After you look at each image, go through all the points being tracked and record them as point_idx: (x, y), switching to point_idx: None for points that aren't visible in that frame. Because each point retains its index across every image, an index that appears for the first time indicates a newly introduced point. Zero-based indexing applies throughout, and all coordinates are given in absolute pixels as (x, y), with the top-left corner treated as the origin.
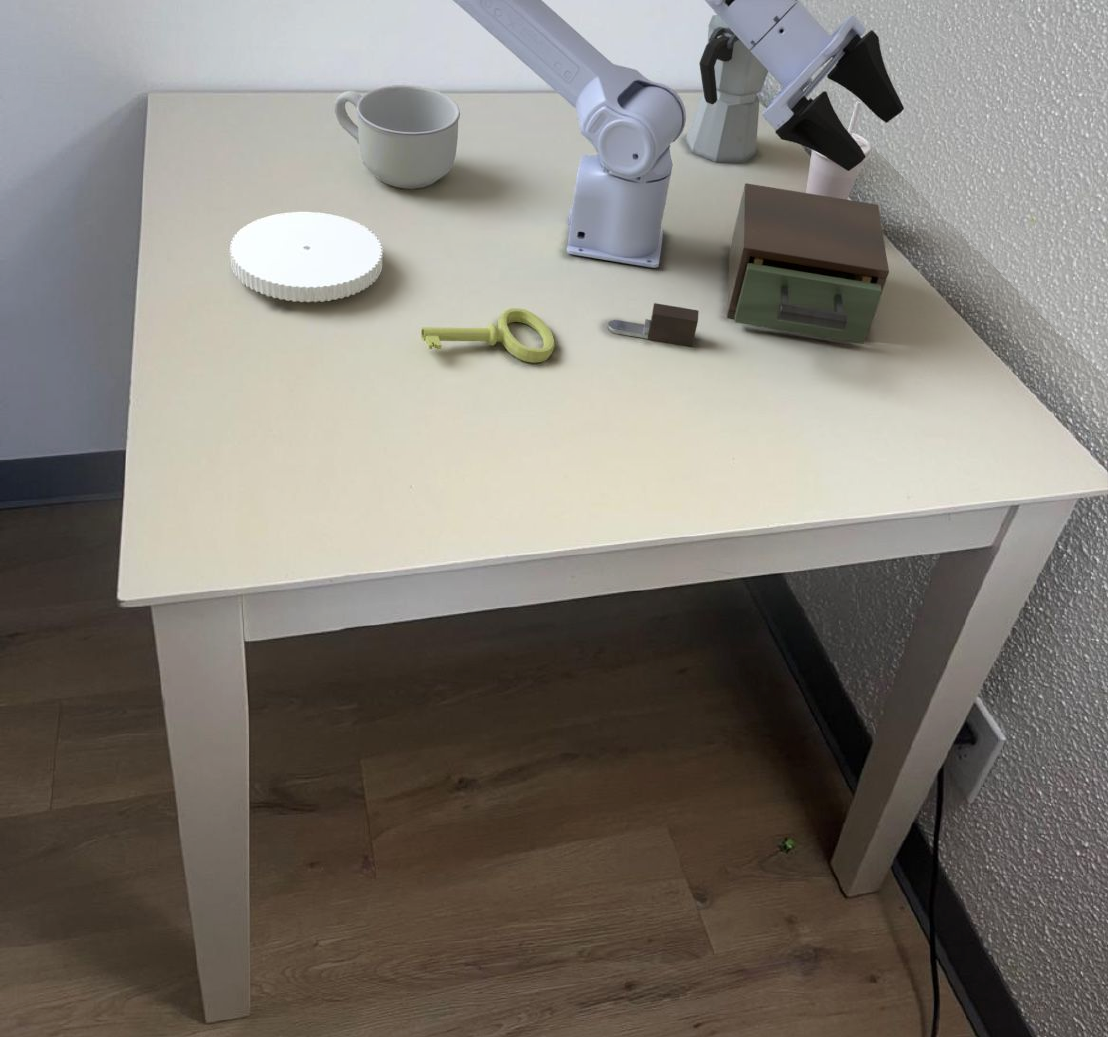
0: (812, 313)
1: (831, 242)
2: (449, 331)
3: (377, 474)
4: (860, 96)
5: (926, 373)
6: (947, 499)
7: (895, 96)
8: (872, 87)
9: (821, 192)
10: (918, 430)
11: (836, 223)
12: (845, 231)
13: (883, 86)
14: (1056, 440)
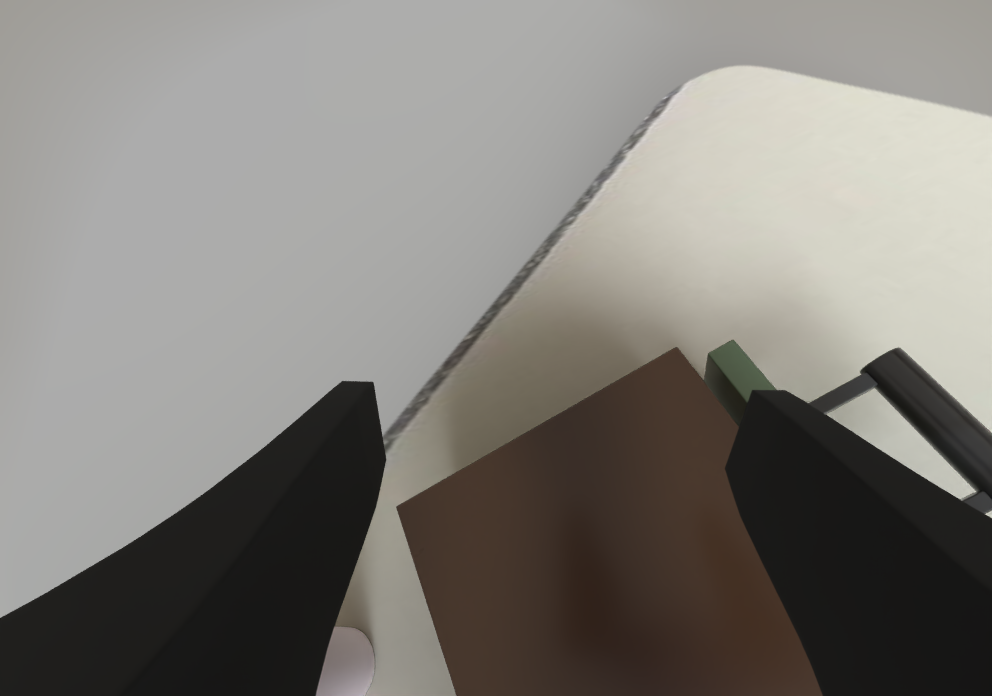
0: (972, 416)
1: (667, 512)
2: None
3: None
4: (323, 637)
5: (682, 291)
6: (982, 120)
7: (325, 415)
8: (304, 568)
9: (328, 687)
10: (851, 224)
11: (559, 547)
12: (582, 509)
13: (306, 486)
14: (684, 123)
